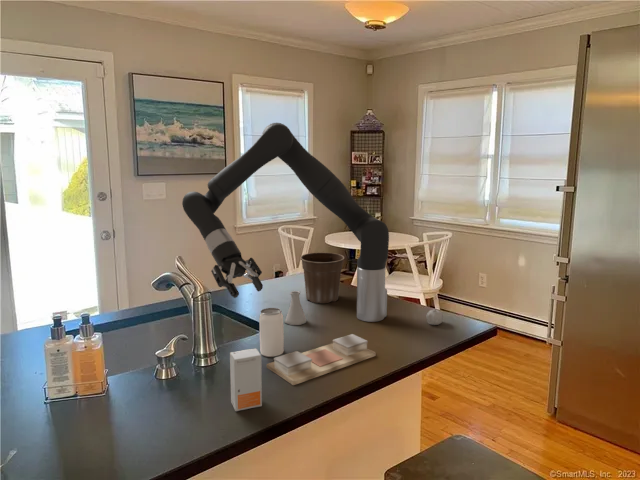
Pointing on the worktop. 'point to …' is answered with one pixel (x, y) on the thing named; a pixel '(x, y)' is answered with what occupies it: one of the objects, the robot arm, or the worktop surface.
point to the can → (271, 332)
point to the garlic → (434, 317)
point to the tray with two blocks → (321, 359)
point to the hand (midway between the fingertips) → (249, 292)
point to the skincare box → (246, 379)
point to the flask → (295, 311)
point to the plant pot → (322, 276)
